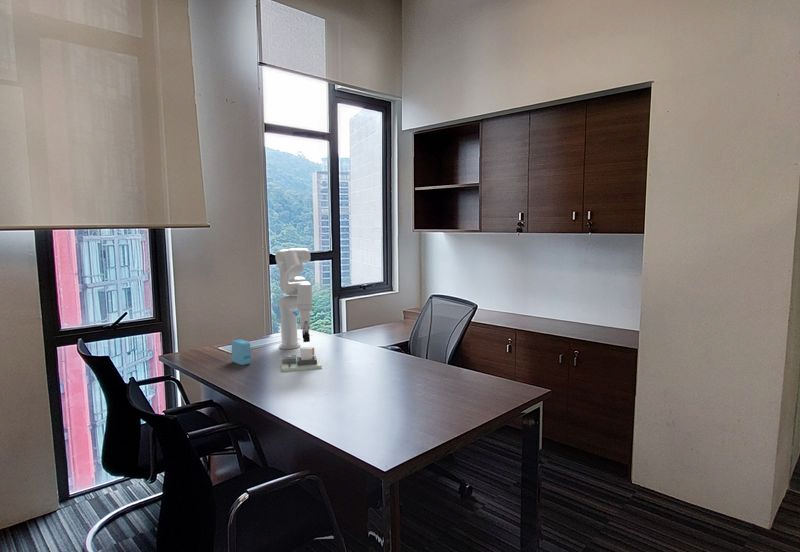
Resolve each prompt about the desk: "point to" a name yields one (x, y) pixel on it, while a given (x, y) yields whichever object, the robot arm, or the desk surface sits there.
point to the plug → (307, 353)
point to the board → (299, 363)
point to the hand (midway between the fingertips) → (306, 339)
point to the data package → (241, 352)
